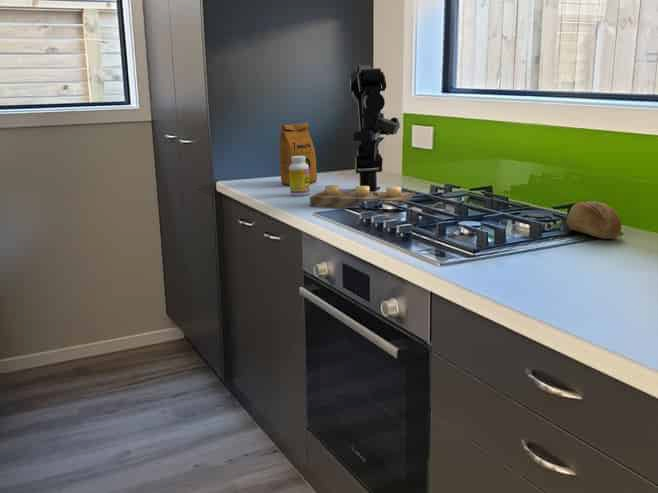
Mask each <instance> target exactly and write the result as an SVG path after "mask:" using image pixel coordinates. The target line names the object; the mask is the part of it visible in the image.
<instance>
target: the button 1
mask: <svg viewBox="0 0 658 493" xmlns="http://www.w3.org/2000/svg"><path fill="white" fill-rule="evenodd" d="M324 190H325V194H326V195H337V194H339V190H340V185H339V184H329V185H324Z"/></svg>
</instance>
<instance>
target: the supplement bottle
mask: <svg viewBox="0 0 658 493" xmlns="http://www.w3.org/2000/svg"><path fill="white" fill-rule="evenodd" d="M291 160H292V164H291V165H290V166H289V176H290V185H289V191H290V195H291V196H292V197H293V196H294V197H304V196H309V195H310V193H311V183H310V181H309V166H308V165H307V164H306V163H305V160H306V159H305V156H293V157H291Z"/></svg>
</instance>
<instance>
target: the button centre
mask: <svg viewBox="0 0 658 493" xmlns="http://www.w3.org/2000/svg"><path fill="white" fill-rule="evenodd" d="M354 191H355V195H356V196H359V195H362V196H368V195H370V187H369V186H360V185H357V186H355V187H354Z"/></svg>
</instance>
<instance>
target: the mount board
mask: <svg viewBox="0 0 658 493" xmlns="http://www.w3.org/2000/svg"><path fill="white" fill-rule="evenodd" d="M374 192H375V193H377V194H378V195H377V196H374V195H373V193H374ZM414 195H417V194H416V192H405V191H404V192H402V191H401V196H400V197H387V196H386V191H370V195H368V196H364V197H362V198H361V197H359V196H356V195H355V190H340V189H339V194H337V195H326V194H325V189H324V190H323V191H320V192H318V193H316V194H313V195H311V196H309V207H312V208H313V207H314V208H315V207H316V208H333V209H334V208H335V209H346V208H345V207H346V206H354V205H357V204H358V202H360V201H364V202H365V201H367V200H377V201H392V202H398V203H405V202H406V201H408V200H410V199H411V198H412V197H413V196H414Z"/></svg>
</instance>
